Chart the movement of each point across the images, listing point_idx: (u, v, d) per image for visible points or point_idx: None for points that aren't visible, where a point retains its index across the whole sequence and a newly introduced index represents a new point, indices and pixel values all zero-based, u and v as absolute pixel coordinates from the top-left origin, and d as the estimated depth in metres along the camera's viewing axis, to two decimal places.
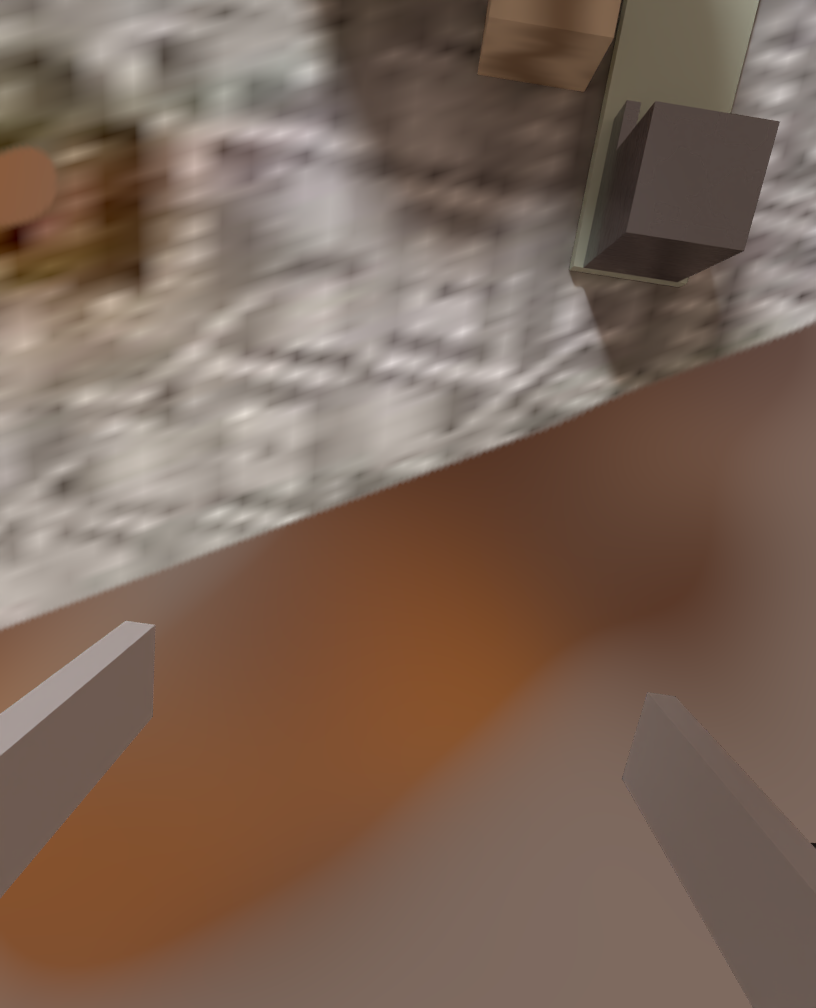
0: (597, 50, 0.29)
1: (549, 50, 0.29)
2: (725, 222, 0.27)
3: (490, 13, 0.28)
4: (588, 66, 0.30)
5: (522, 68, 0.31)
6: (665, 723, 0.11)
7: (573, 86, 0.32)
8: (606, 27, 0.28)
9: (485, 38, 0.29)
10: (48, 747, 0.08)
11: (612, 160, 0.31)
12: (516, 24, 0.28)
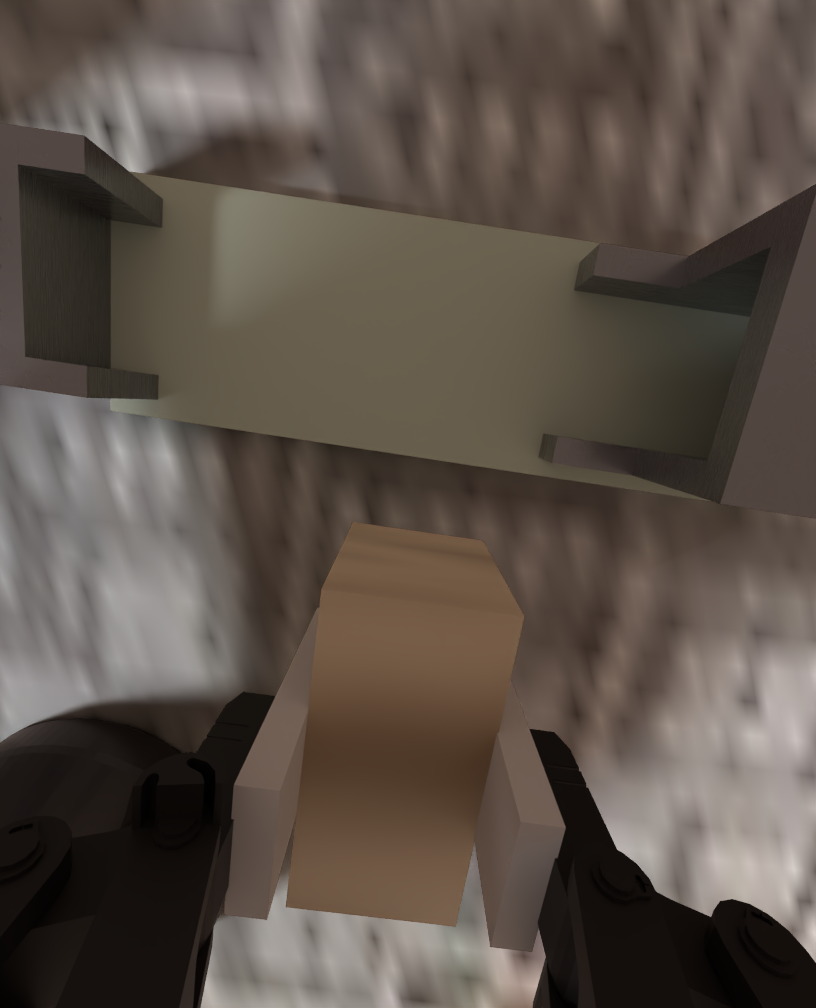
0: None
1: None
2: None
3: (449, 925, 0.10)
4: None
5: None
6: None
7: None
8: (495, 640, 0.09)
9: None
10: None
11: None
12: (468, 856, 0.10)
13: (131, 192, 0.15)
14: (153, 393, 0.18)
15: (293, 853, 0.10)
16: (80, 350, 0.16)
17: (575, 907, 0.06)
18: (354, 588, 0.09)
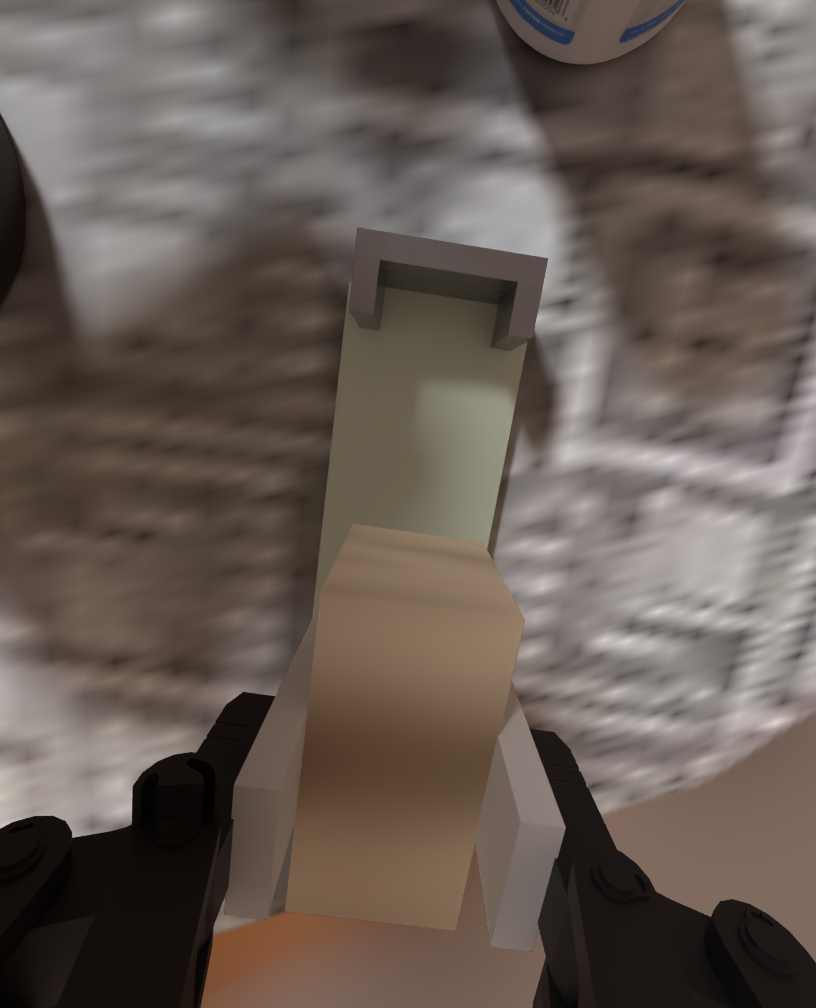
0: None
1: None
2: None
3: (449, 930, 0.10)
4: None
5: None
6: None
7: None
8: (495, 643, 0.09)
9: None
10: None
11: None
12: (468, 860, 0.10)
13: (507, 344, 0.20)
14: (363, 327, 0.21)
15: (292, 858, 0.10)
16: (394, 279, 0.20)
17: (575, 906, 0.06)
18: (354, 591, 0.09)
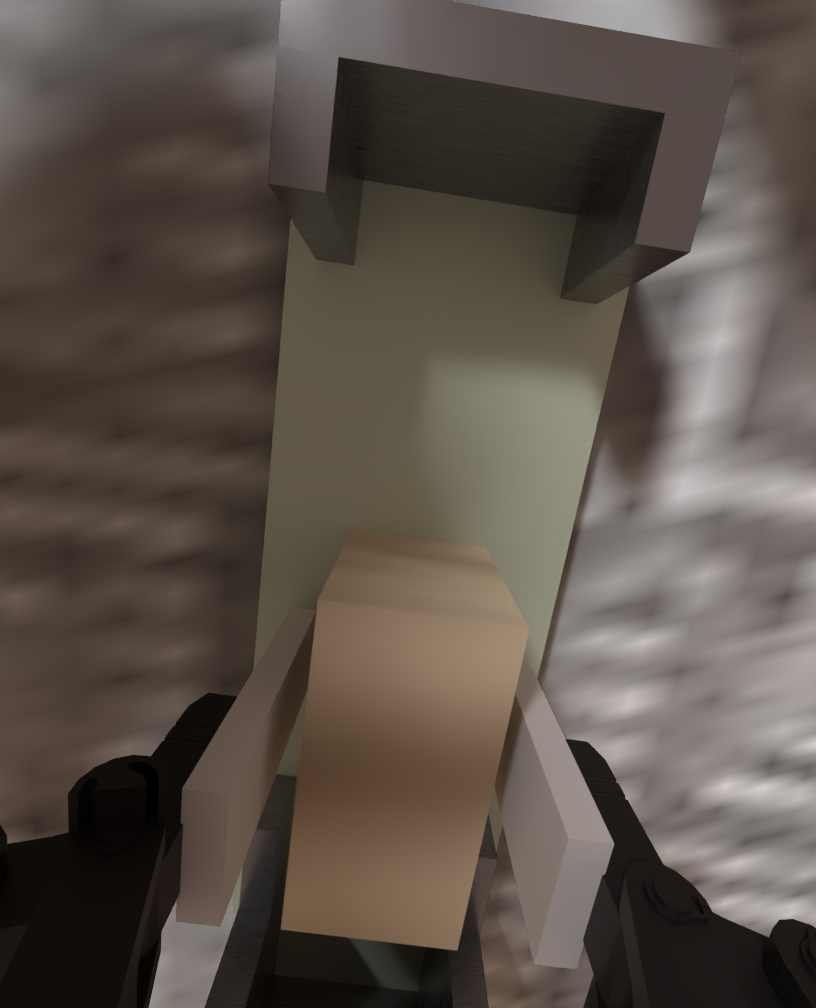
0: None
1: None
2: None
3: (451, 949, 0.10)
4: None
5: None
6: None
7: None
8: (498, 653, 0.08)
9: None
10: (282, 703, 0.10)
11: None
12: (470, 877, 0.10)
13: (606, 281, 0.10)
14: (322, 256, 0.11)
15: (288, 874, 0.10)
16: (377, 146, 0.10)
17: (628, 923, 0.06)
18: (352, 598, 0.08)
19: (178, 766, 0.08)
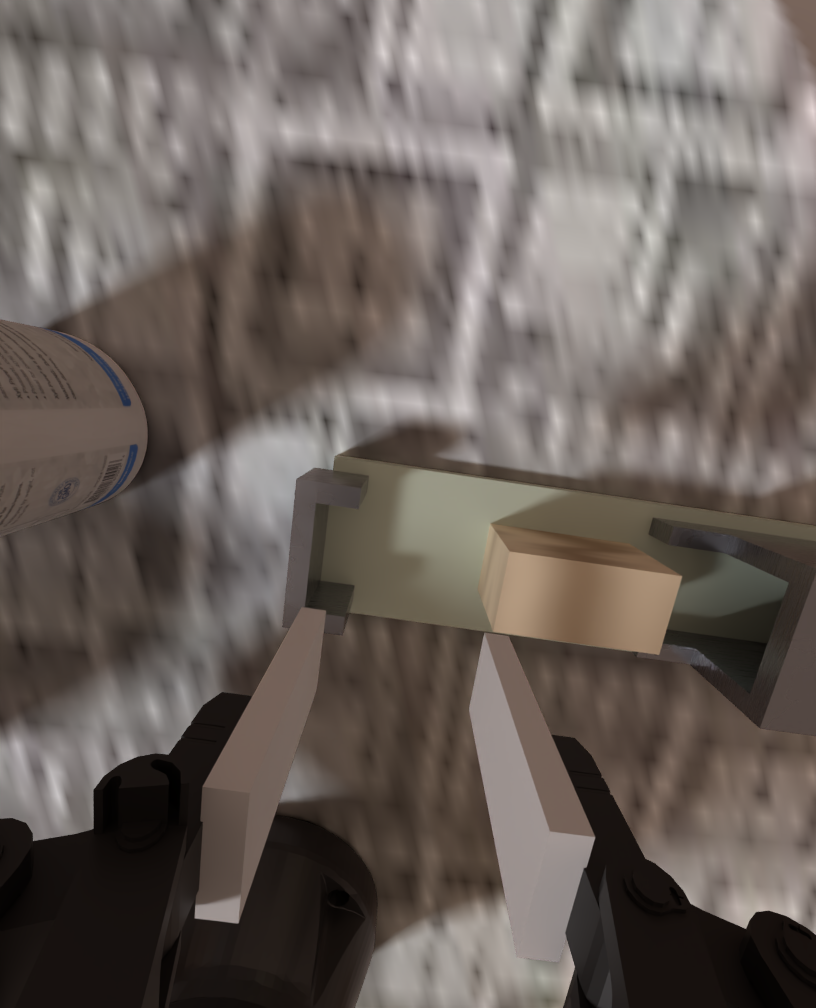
0: (516, 545, 0.21)
1: (573, 550, 0.22)
2: None
3: (680, 579, 0.20)
4: (510, 537, 0.22)
5: (586, 543, 0.24)
6: (488, 654, 0.13)
7: (508, 528, 0.24)
8: (520, 563, 0.20)
9: (660, 563, 0.22)
10: (295, 703, 0.10)
11: None
12: (641, 569, 0.20)
13: (364, 491, 0.23)
14: (352, 599, 0.25)
15: (626, 649, 0.21)
16: (315, 583, 0.24)
17: (607, 916, 0.06)
18: (494, 617, 0.21)
19: (195, 765, 0.08)
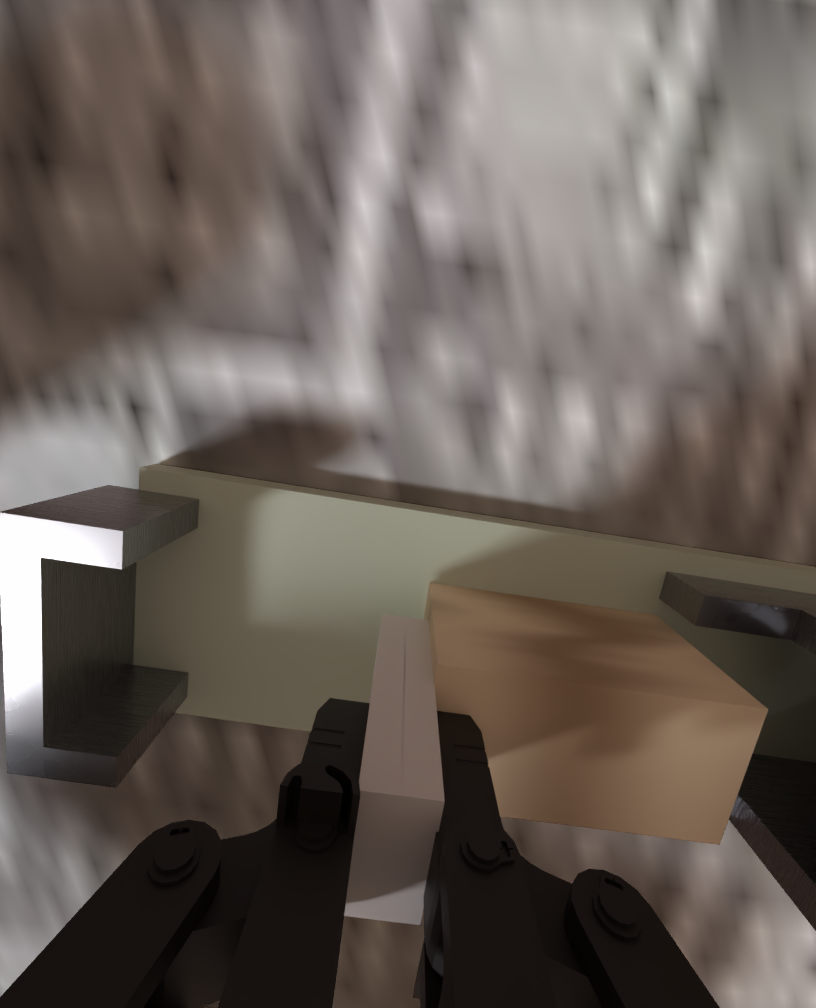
0: (457, 642, 0.11)
1: (562, 646, 0.12)
2: None
3: (765, 715, 0.11)
4: (453, 618, 0.13)
5: (586, 621, 0.14)
6: (403, 637, 0.13)
7: (457, 592, 0.15)
8: (458, 684, 0.10)
9: (717, 669, 0.12)
10: None
11: None
12: (688, 693, 0.11)
13: (168, 529, 0.13)
14: (182, 696, 0.16)
15: (660, 835, 0.11)
16: (102, 679, 0.14)
17: (443, 885, 0.06)
18: None
19: None
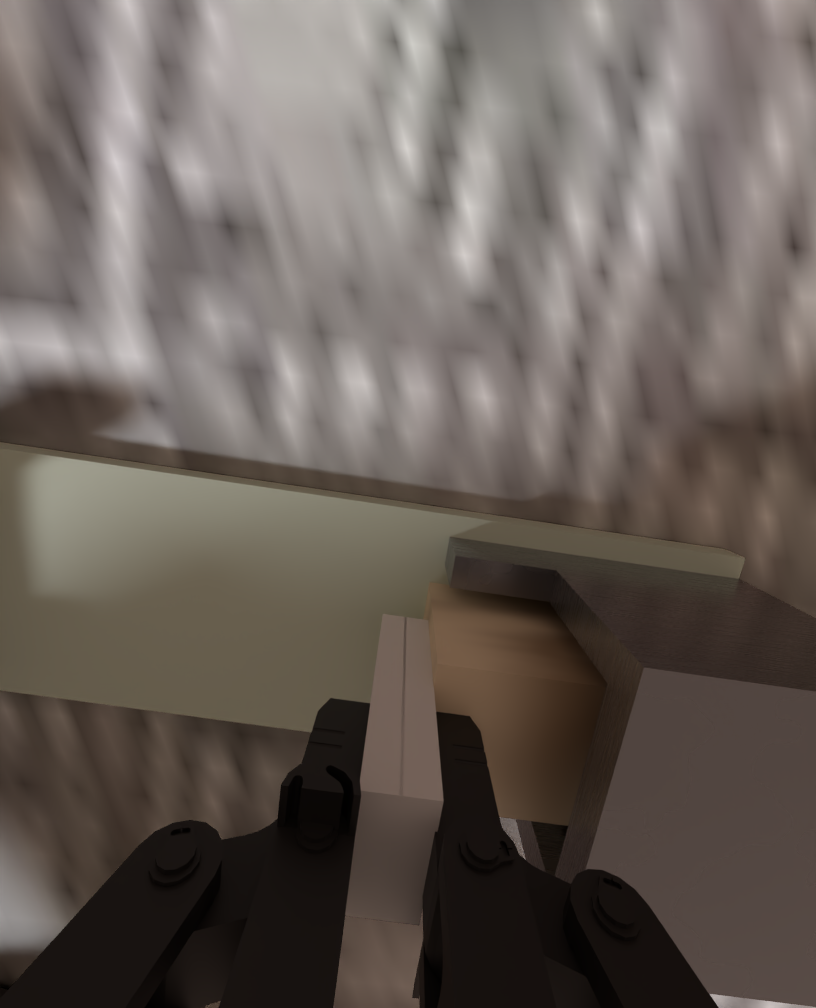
0: (457, 642, 0.11)
1: (562, 646, 0.12)
2: None
3: None
4: (453, 617, 0.13)
5: None
6: (403, 637, 0.13)
7: (457, 591, 0.15)
8: (458, 684, 0.10)
9: None
10: None
11: None
12: None
13: None
14: None
15: None
16: None
17: (443, 885, 0.06)
18: None
19: None
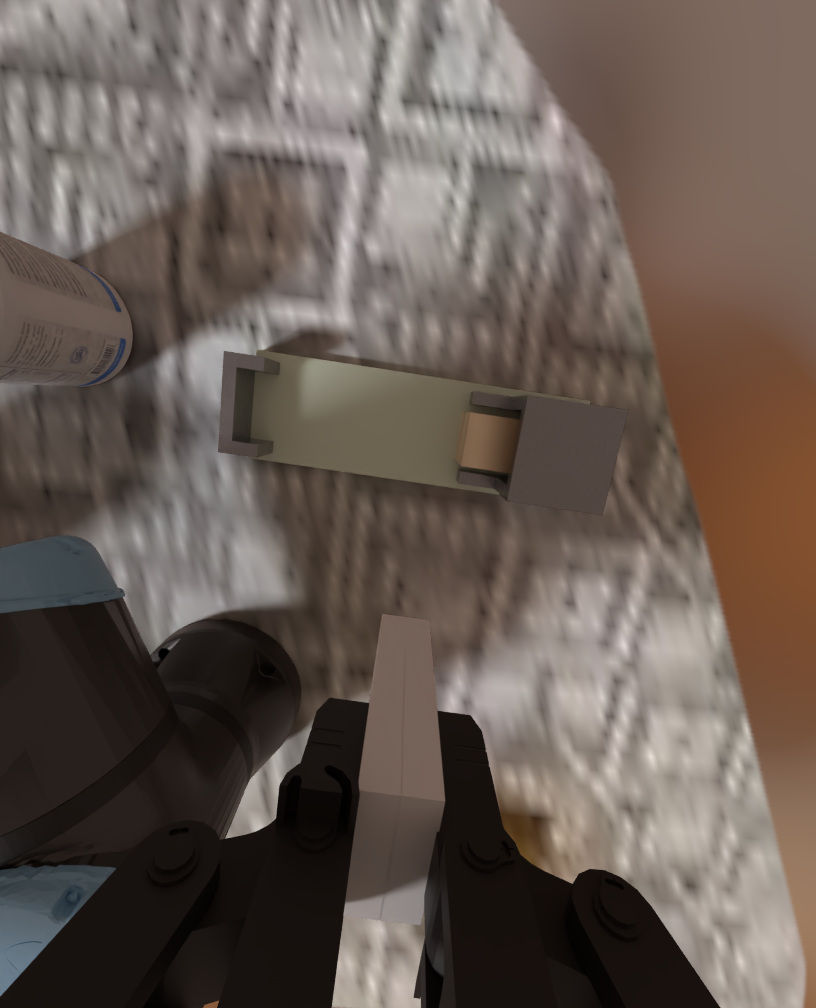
0: None
1: None
2: (603, 430, 0.31)
3: None
4: None
5: None
6: (404, 637, 0.13)
7: None
8: (477, 419, 0.32)
9: None
10: None
11: None
12: None
13: (272, 367, 0.35)
14: (271, 450, 0.38)
15: None
16: (243, 433, 0.36)
17: (444, 885, 0.06)
18: (462, 457, 0.33)
19: None
